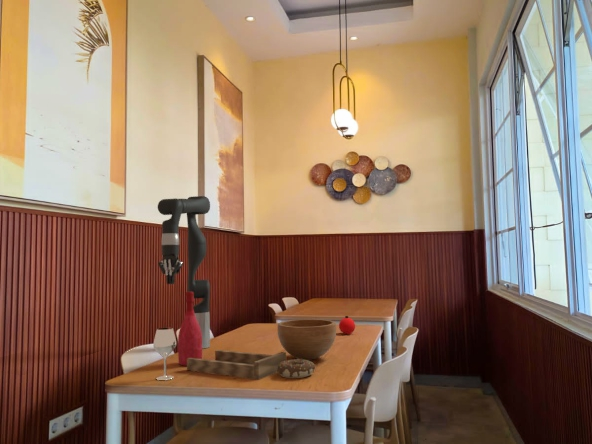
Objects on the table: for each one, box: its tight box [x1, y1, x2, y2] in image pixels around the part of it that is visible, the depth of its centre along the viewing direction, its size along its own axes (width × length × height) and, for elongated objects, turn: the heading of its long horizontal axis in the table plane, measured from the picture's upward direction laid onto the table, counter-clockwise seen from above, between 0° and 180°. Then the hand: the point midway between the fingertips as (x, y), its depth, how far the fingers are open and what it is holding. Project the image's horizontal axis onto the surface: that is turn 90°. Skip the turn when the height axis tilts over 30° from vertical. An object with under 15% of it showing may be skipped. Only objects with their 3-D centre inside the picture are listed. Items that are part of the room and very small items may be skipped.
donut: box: [276, 358, 316, 379], centre depth 170 cm, size 14×14×5 cm
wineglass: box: [153, 326, 178, 381], centre depth 170 cm, size 8×8×18 cm
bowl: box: [277, 318, 337, 361], centre depth 196 cm, size 25×25×15 cm
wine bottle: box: [177, 291, 203, 367], centre depth 194 cm, size 10×10×30 cm
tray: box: [186, 349, 287, 381], centre depth 181 cm, size 34×19×6 cm, turn 60°
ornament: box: [338, 315, 356, 335], centre depth 257 cm, size 9×9×10 cm
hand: (170, 283), depth 201 cm, fingers closed
